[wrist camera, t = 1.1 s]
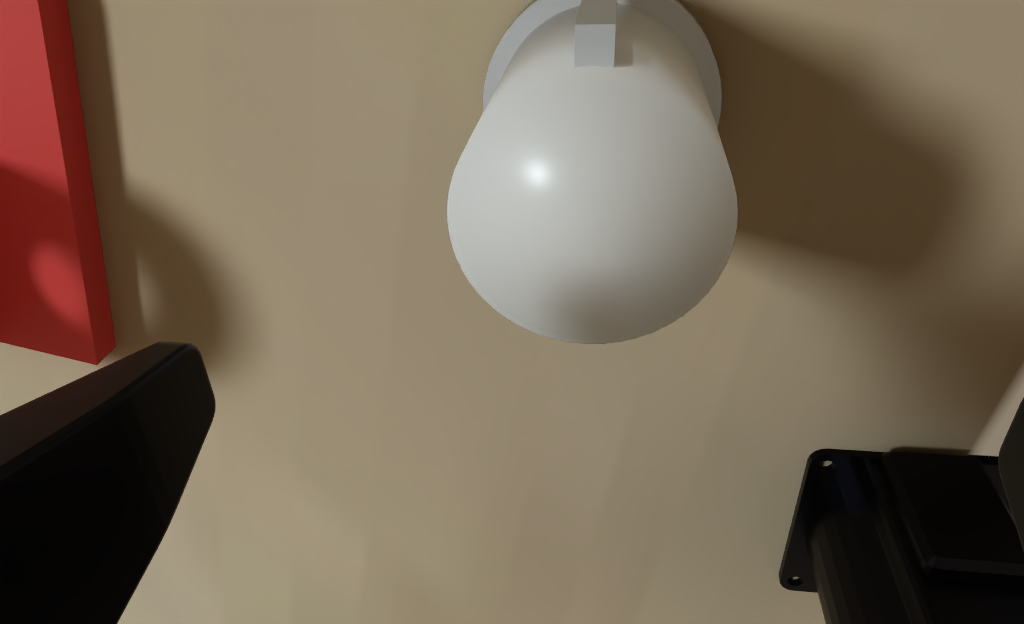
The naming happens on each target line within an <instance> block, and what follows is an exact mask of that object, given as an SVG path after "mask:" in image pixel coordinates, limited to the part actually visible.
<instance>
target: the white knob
mask: <svg viewBox="0 0 1024 624" xmlns="http://www.w3.org/2000/svg"><path fill="white" fill-rule="evenodd" d="M721 104H722V90H721V79H720V74H719V70H718V65H717V62H716V60H715V57H714V54H713V52H712V49H711V46H710V44H709V42H708V39H707V37H706V35H705V33H704V32H703V30H702V28H701V26H700V24H699V23H698V22H697V20H696V19H695V18H694V17H693V15H692V14H691V13H690V11H689V10H688V9H687V8H686V7H685V6H684V5H682V4H681V3H680V2H679V1H678V0H534V1H533V2H531V3H530V4H529V5H528V6H527V7H526V8H525V9H524V10H523V11H522V12H521V13H520V14H519V15H518V16H517V18H516V19H515V20H514V22H513V23H512V24H511V25H510V27H509V28H508V30H507V32H506V33H505V35H504V36H503V38H502V40H501V42H500V43H499V45H498V47H497V48H496V50H495V53H494V55H493V57H492V60H491V62H490V64H489V68H488V72H487V75H486V79H485V86H484V93H483V114H482V116H481V118H480V120H479V122H478V124H477V126H476V128H475V130H474V132H473V134H472V135H471V137H470V139H469V141H468V143H467V145H466V147H465V149H464V151H463V153H462V155H461V157H460V159H459V161H458V164H457V166H456V168H455V171H454V173H453V177H452V181H451V184H450V188H449V195H448V204H447V219H448V228H449V235H450V240H451V243H452V246H453V250H454V253H455V256H456V258H457V260H458V262H459V264H460V267H461V269H462V271H463V272H464V274H465V275H466V277H467V279H468V280H469V282H470V283H471V285H472V286H473V287H474V288H475V290H476V291H477V292H478V293H479V295H480V296H481V297H482V298H483V299H484V300H485V301H486V302H487V303H488V304H489V305H490V306H491V307H493V308H494V309H495V310H496V311H498V312H499V313H500V314H502V315H503V316H504V317H506V318H507V319H509V320H510V321H512V322H514V323H516V324H517V325H519V326H521V327H523V328H525V329H527V330H529V331H532V332H534V333H536V334H539V335H542V336H545V337H549V338H552V339H556V340H561V341H566V342H572V343H582V344H605V343H613V342H621V341H625V340H630V339H634V338H638V337H641V336H644V335H647V334H650V333H652V332H655V331H657V330H659V329H661V328H663V327H665V326H667V325H669V324H671V323H672V322H674V321H675V320H677V319H679V318H680V317H682V316H683V315H685V314H686V313H687V312H688V311H689V310H691V309H692V308H693V307H694V306H696V305H697V304H698V303H699V302H700V301H701V300H702V298H703V297H704V296H705V295H706V294H707V293H708V292H709V291H710V289H711V288H712V287H713V285H714V284H715V283H716V281H717V280H718V279H719V277H720V275H721V273H722V271H723V269H724V268H725V266H726V264H727V262H728V259H729V256H730V254H731V251H732V248H733V245H734V240H735V236H736V231H737V219H738V206H737V194H736V190H735V186H734V181H733V177H732V174H731V171H730V167H729V164H728V161H727V158H726V155H725V152H724V149H723V145H722V142H721V139H720V136H719V133H718V130H717V128H718V125H719V119H720V114H721Z"/></svg>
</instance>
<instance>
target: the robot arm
mask: <svg viewBox="0 0 1024 624" xmlns="http://www.w3.org/2000/svg"><path fill="white" fill-rule="evenodd" d="M214 414H215V397H214V393H213V390H212V387H211V384H210V381H209V378H208V375H207V372H206V368H205V365H204V362H203V359H202V356H201V353H200V351H199V350H198V349H197V347H196V346H194V345H192V344H190V343H177V342H158V343H155V344H153V345H151V346H148V347H146V348H144V349H142V350H140V351H138V352H136V353H133V354H131V355H129V356H127V357H125V358H123V359H121V360H118V361H116V362H114V363H112V364H110V365H108V366H105V367H103V368H101V369H99V370H97V371H95V372H93V373H90V374H88V375H86V376H84V377H82V378H80V379H78V380H75V381H73V382H71V383H69V384H67V385H65V386H62V387H60V388H58V389H56V390H54V391H52V392H50V393H47V394H45V395H43V396H41V397H39V398H37V399H35V400H32V401H30V402H28V403H26V404H24V405H22V406H19V407H17V408H15V409H13V410H11V411H9V412H7V413H4V414H2V415H0V624H117V623H118V621H119V619H120V617H121V615H122V614H123V612H124V610H125V608H126V606H127V604H128V602H129V601H130V599H131V597H132V595H133V593H134V591H135V589H136V588H137V586H138V584H139V582H140V580H141V578H142V577H143V575H144V573H145V571H146V569H147V567H148V565H149V564H150V562H151V560H152V558H153V556H154V554H155V552H156V551H157V549H158V547H159V545H160V543H161V541H162V539H163V537H164V535H165V533H166V531H167V529H168V527H169V524H170V522H171V520H172V518H173V515H174V513H175V511H176V509H177V506H178V504H179V501H180V499H181V496H182V494H183V492H184V489H185V487H186V484H187V482H188V479H189V477H190V474H191V472H192V470H193V467H194V465H195V462H196V460H197V457H198V455H199V453H200V450H201V448H202V445H203V443H204V440H205V438H206V435H207V433H208V431H209V428H210V426H211V423H212V421H213V418H214ZM822 461H832V464H830V465H829V466H824V467H822V466H819V463H821V462H822ZM791 577H800V578H798V579H795V580H791V579H789V578H791ZM779 580H780V584H781V585H782V587H784V588H786V589H788V590H794V591H806V592H817V593H818V595H819V599H820V603H821V606H822V610H823V614H824V618H825V622H826V624H1024V398H1023V400H1022V402H1021V403H1020V405H1019V408H1018V410H1017V412H1016V415H1015V417H1014V419H1013V422H1012V424H1011V426H1010V428H1009V430H1008V432H1007V435H1006V437H1005V439H1004V441H1003V444H1002V446H1001V449H1000V452H999V456H984V455H971V456H958V455H942V454H926V453H910V452H894V451H892V452H872V451H856V450H840V449H820V450H817V451H815V452H813V453H812V454H811V455H810V456H809V458H808V460H807V464H806V468H805V472H804V476H803V480H802V484H801V488H800V492H799V496H798V500H797V503H796V507H795V511H794V515H793V519H792V523H791V527H790V531H789V535H788V539H787V543H786V547H785V551H784V555H783V559H782V563H781V567H780V571H779Z"/></svg>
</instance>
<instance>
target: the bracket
mask: <svg viewBox="0 0 1024 624" xmlns="http://www.w3.org/2000/svg"><path fill="white" fill-rule="evenodd" d="M0 342H2V343H7V344H11V345H15V346H19V347H23V348H28V349H32V350H36V351H40V352H44V353H49V354H53V355H57V356H61V357H65V358H70V359H74V360H78V361H82V362H86V363H91V364H95V365H98V364H99V363H100V362H101V361H102V360H103V359H104V358H105V357H106V356H107V355H108V354H109V353H110V352H111V351H112V350H113V349H114V348H115V347H116V344H115V337H114V330H113V323H112V316H111V309H110V302H109V295H108V288H107V281H106V274H105V267H104V260H103V253H102V246H101V239H100V232H99V225H98V218H97V211H96V204H95V197H94V189H93V182H92V175H91V168H90V161H89V154H88V147H87V140H86V133H85V126H84V119H83V112H82V105H81V98H80V91H79V84H78V77H77V70H76V63H75V56H74V49H73V42H72V35H71V28H70V21H69V14H68V7H67V0H0Z"/></svg>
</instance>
